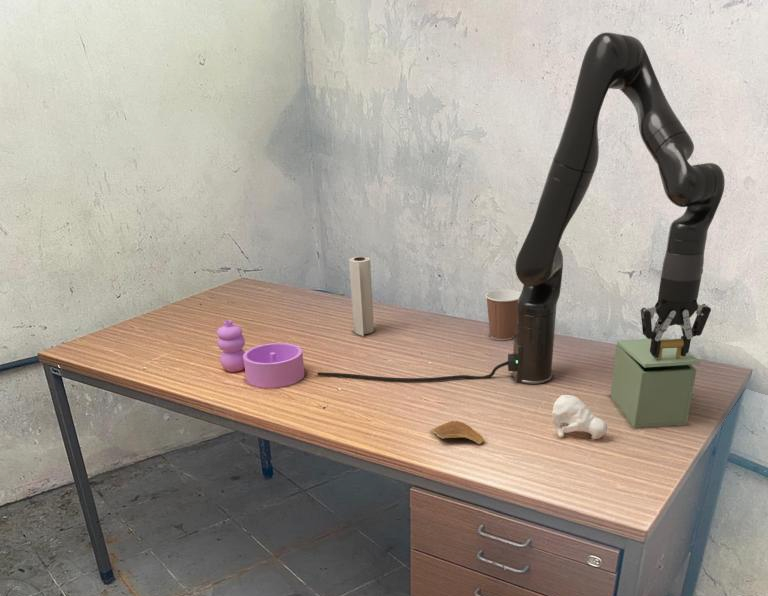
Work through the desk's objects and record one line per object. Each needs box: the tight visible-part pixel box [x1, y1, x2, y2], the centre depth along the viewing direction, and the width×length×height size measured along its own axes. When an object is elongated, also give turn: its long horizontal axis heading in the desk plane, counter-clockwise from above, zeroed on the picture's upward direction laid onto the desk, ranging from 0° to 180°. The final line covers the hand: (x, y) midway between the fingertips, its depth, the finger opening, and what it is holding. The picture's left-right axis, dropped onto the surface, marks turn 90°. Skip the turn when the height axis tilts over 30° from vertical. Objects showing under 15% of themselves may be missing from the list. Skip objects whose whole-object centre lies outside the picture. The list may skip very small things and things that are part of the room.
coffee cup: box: [485, 289, 522, 341], centre depth 216 cm, size 10×10×12 cm
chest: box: [609, 343, 697, 429], centre depth 171 cm, size 18×12×13 cm, turn 3°
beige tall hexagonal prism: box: [348, 256, 375, 337], centre depth 222 cm, size 7×6×21 cm
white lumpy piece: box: [551, 394, 608, 441], centre depth 163 cm, size 6×8×12 cm
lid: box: [616, 336, 701, 368], centre depth 166 cm, size 18×12×5 cm, turn 3°
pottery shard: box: [432, 420, 485, 445], centre depth 166 cm, size 10×9×2 cm
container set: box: [216, 319, 306, 389], centre depth 200 cm, size 25×15×13 cm, turn 60°
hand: (668, 355), depth 160 cm, fingers closed on lid, 5 cm apart
